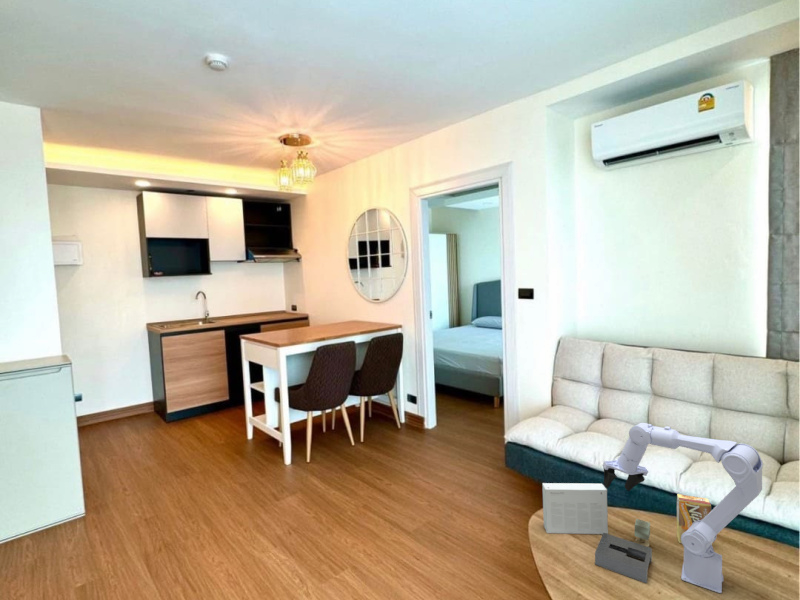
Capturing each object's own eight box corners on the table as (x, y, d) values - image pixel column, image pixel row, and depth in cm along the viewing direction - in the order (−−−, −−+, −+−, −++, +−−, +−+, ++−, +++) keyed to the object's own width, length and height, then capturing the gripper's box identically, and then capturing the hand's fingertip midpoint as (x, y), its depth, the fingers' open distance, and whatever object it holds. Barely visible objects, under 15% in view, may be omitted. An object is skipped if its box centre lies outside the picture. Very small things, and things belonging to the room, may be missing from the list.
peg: (650, 543, 140) (650, 522, 140) (648, 549, 137) (648, 528, 137) (636, 539, 143) (636, 518, 142) (634, 545, 139) (634, 524, 139)
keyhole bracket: (651, 560, 132) (651, 548, 132) (646, 583, 123) (646, 570, 122) (603, 544, 141) (603, 532, 140) (595, 564, 131) (595, 552, 131)
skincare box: (602, 525, 151) (602, 482, 150) (608, 535, 145) (608, 490, 144) (542, 524, 153) (541, 482, 152) (546, 533, 147) (545, 489, 146)
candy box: (707, 542, 140) (707, 497, 139) (711, 550, 136) (711, 504, 135) (676, 536, 143) (676, 493, 142) (678, 543, 139) (679, 499, 138)
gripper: (645, 450, 141) (630, 481, 146) (604, 444, 140) (590, 475, 145) (657, 465, 135) (641, 497, 139) (614, 459, 134) (599, 491, 138)
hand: (616, 487), depth 142 cm, fingers open, 7 cm apart
